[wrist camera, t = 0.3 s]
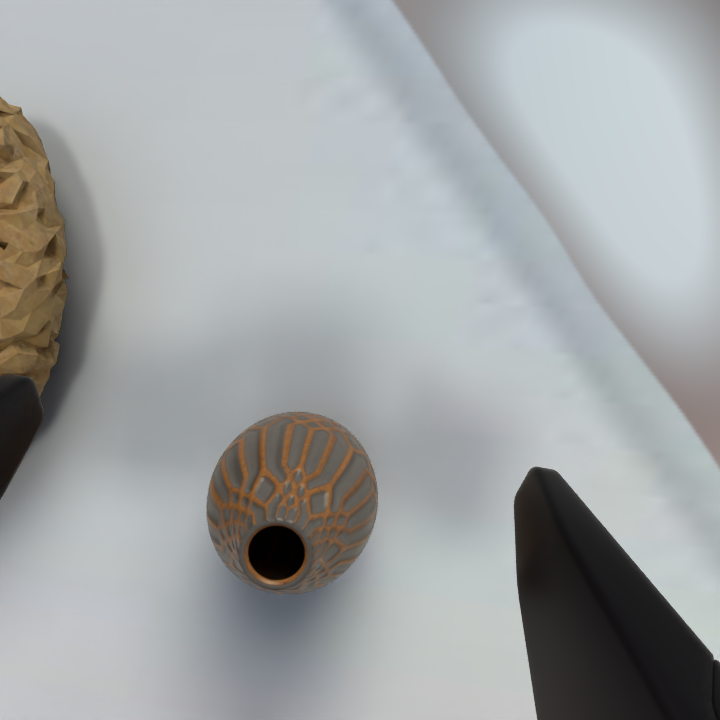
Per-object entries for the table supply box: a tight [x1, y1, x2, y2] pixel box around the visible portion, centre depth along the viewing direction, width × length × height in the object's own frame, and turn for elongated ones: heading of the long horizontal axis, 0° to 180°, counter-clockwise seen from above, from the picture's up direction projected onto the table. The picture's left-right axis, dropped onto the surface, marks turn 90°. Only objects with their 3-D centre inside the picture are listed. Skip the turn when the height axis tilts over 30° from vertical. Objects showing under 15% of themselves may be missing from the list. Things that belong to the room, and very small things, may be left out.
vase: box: [207, 412, 378, 594], centre depth 20 cm, size 7×7×9 cm
